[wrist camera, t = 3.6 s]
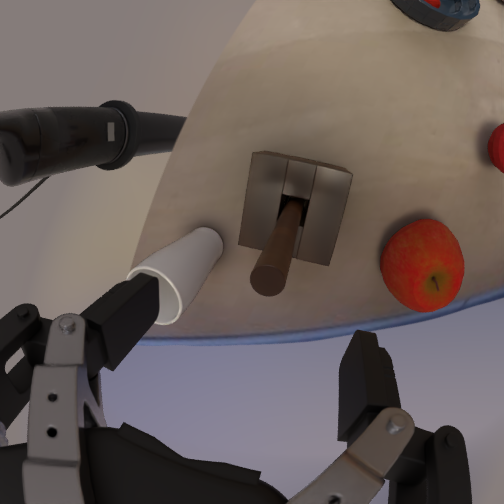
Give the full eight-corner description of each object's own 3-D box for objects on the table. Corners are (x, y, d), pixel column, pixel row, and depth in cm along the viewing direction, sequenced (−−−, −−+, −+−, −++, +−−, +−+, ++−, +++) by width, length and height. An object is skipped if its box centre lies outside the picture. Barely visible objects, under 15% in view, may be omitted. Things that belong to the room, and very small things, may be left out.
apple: (413, 195, 30) (448, 216, 20) (458, 247, 30) (494, 282, 21) (360, 255, 34) (373, 297, 25) (408, 300, 35) (429, 347, 25)
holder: (252, 226, 36) (237, 244, 30) (265, 150, 32) (252, 152, 26) (326, 243, 35) (328, 266, 29) (345, 168, 31) (353, 174, 24)
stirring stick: (289, 203, 34) (247, 292, 14) (291, 189, 33) (252, 261, 13) (303, 206, 34) (281, 300, 14) (306, 192, 33) (289, 269, 13)
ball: (416, 7, 19) (423, -1, 16) (416, -7, 17) (422, -16, 15) (436, 16, 18) (444, 8, 16) (435, 1, 17) (442, -7, 14)
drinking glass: (239, 250, 38) (196, 310, 24) (205, 273, 41) (155, 334, 27) (209, 211, 37) (148, 252, 23) (176, 237, 39) (113, 285, 26)
